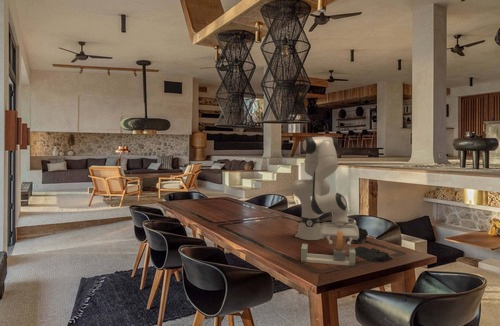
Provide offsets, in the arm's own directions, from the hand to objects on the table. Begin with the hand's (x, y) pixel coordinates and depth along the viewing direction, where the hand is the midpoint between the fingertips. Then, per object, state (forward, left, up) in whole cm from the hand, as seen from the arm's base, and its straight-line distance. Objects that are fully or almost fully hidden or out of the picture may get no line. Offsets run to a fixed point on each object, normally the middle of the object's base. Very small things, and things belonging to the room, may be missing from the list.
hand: (339, 244), depth 200 cm
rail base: (-1, -6, -9) cm, 11 cm away
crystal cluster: (-47, +12, -10) cm, 49 cm away
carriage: (-1, 0, -6) cm, 6 cm away
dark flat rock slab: (-16, +17, -10) cm, 26 cm away
